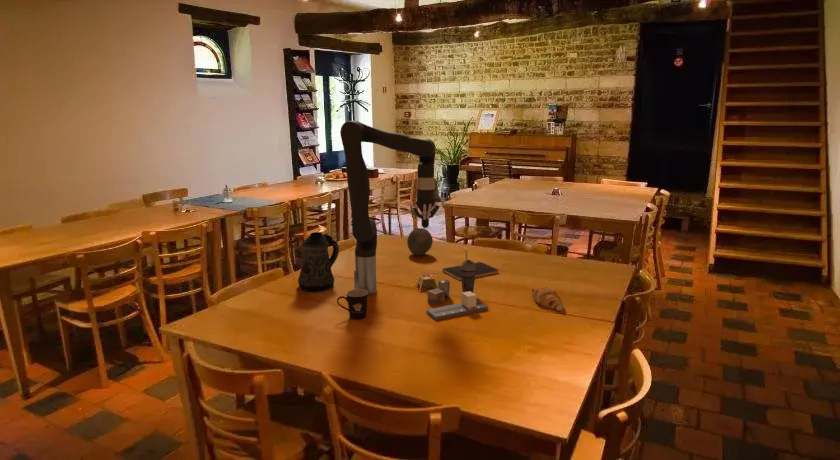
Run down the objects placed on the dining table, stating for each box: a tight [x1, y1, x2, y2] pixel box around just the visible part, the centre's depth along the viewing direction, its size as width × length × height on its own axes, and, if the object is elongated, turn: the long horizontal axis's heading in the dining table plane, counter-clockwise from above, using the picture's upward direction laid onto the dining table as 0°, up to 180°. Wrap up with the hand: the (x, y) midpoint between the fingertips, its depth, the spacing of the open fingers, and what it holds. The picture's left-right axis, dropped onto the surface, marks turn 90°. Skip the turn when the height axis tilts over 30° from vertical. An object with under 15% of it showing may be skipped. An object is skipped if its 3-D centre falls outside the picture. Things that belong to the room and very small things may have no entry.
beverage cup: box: [460, 250, 477, 293], centre depth 231 cm, size 7×7×20 cm
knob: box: [460, 291, 477, 308], centre depth 215 cm, size 4×5×5 cm
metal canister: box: [437, 279, 451, 300], centre depth 229 cm, size 5×5×7 cm
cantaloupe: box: [406, 227, 434, 256], centre depth 291 cm, size 14×14×15 cm
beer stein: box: [297, 231, 340, 293], centre depth 242 cm, size 16×19×25 cm
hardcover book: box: [441, 261, 499, 281], centre depth 263 cm, size 16×23×2 cm
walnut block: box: [427, 287, 445, 306], centre depth 224 cm, size 5×5×5 cm
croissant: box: [531, 287, 564, 312], centre depth 222 cm, size 21×10×8 cm, turn 22°
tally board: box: [426, 299, 489, 321], centre depth 214 cm, size 24×8×2 cm, turn 116°
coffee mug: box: [336, 288, 369, 321], centre depth 208 cm, size 12×9×10 cm
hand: (425, 227), depth 226 cm, fingers closed
